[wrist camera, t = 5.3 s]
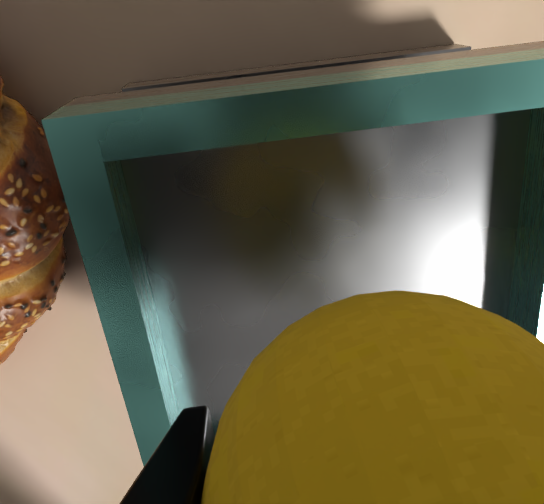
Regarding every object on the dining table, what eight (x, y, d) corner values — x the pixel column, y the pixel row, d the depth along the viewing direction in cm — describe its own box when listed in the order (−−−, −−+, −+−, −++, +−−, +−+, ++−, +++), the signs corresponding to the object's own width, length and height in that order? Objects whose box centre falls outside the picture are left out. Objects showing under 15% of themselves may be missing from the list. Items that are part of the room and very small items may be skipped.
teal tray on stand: (450, 324, 18) (549, 464, 13) (179, 361, 18) (160, 520, 13) (466, 31, 14) (623, 48, 9) (114, 73, 14) (41, 119, 8)
